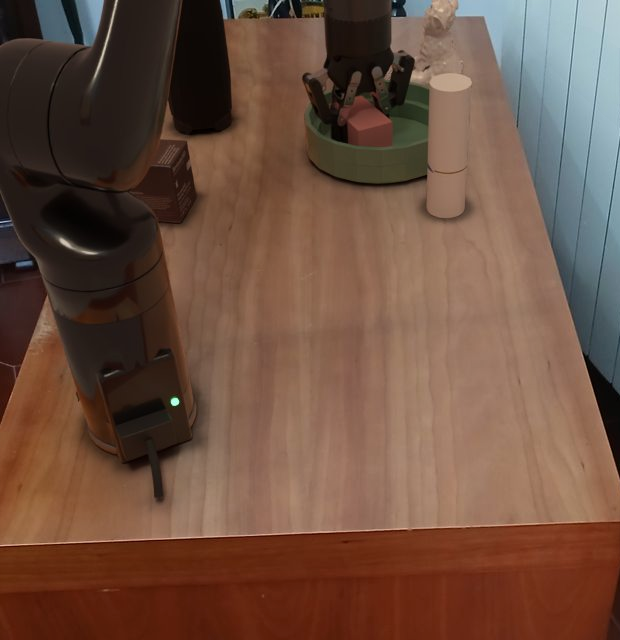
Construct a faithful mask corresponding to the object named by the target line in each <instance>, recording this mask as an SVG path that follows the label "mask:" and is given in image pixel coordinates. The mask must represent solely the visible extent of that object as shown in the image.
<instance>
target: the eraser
mask: <svg viewBox="0 0 620 640" xmlns="http://www.w3.org/2000/svg"><path fill="white" fill-rule="evenodd" d="M330 106H331V103H330V104H329V109H330ZM346 124H347V127H348V144H351V145H355V146H366V147H389V146H392V121H391V120H390V119H389V118H387V117H386V116H385V115H384V114H383V113H382V112H380V111H379V110H378V109H377V108H376V107H375V106H373V105H372V104H371V103H370V102H369V101H368V100H367V99H365V98H364V97H363V96H358V97H355V99H354V103H353V106H352V108H350V109H349V113H348V117H347V121H346ZM330 132H331V123H330ZM331 134H332V133H331ZM331 139H332V136H331Z"/></svg>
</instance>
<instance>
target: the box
mask: <svg viewBox="0 0 620 640" xmlns="http://www.w3.org/2000/svg"><path fill="white" fill-rule="evenodd" d="M188 145H189V143H188V140H185V139H183V140H182V139H166V138H165V139H162V138H161V139H160V142H159V146H158V149H157V152H156V155H155V157H154V160H153V162H152V164H151V166H150V168H149V170H148V172H147V174H146V175H145V177H144V178H143V179H142V181H141V182H140V183H139V184H138V185H137V186H136V187H134V188H133V189H131V190H130V191H128V192H130V193H131V194H133V195H135V196H136V197H138V198H139V199H141V200H142V201H144V202H145V203H146V204H147V205H148V206H149V207H150V208H151V209H152V211H153V212H154V214H155V216H156V218H157V220H158V222H166V223H177V224H178V223H181V222H183V220H184V219H185V217H186V216H187V214H188V212H189V210H190V209H191V207H192V205H193V203H194V202H195V200H196V198H197V190H196V186H195V178H194V173H193V167H192V161H191V156H190V151H189V147H188Z"/></svg>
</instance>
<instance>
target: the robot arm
mask: <svg viewBox="0 0 620 640" xmlns="http://www.w3.org/2000/svg"><path fill="white" fill-rule="evenodd" d="M321 3H322V7H323V21H324V22H323V23H324V24H323V25H324V44H325V45H324V46H325V51H326V58H325V61H324V63H323V67H322V68H321V69H319V70H317V71H316V72H314V73H311V72H304V73H303V74H302V77H301V81H302V83H303V86H304V88H305V91H306V94H307V97H308V99H309V103H310V102H311V104H312V107H313V110H314V112H315V115H316V116H317V117H318V118H319V119H320V120H321V121H322V122H323V123H324V124H326V125H328V124H330V123H331V133H332V134H331V136H332V139H333V140H335V141H338V142H342V143H346V144H348V127H347V124H346V121H347V117H348V113H349V109H350V108H352V106H353V103H354V99H355V96H358V95H360V94H362V93H370V95H371V97H372V100H373V103H374V105H375V107H376V108H377V109H378V110H379V111H380V112H382V113H383V114H384V115H385V116H386V117H387V118H389V113H390V112H391V110H392V108H393V107H395V106H396V105H397V106H401V105H403V104H404V102H405V98H406V94H407V90H408V86H409V83H410V79H411V75H412V71H413V70H414V64H415V59H414V57H413V56H412V55H411V54H410V53H408V52H407V51H406V50H403V49H400V50H398V51H397V52H395V51H394V52H393V51H392V48H391V45H392V41H393V40H392V37H393V36H392V30H393V29H392V28H393V27H392V26H393V25H392V24H393V23H392V0H321ZM181 7H182V0H103V3H102V9H101V13H100V19H99V23H98V28H97V31H96V34H95V38H94V39H93V42H92V44H91V45H85V44H78V43H71V42H63V41H55V40H48V39H40V38H27V37H26V38H15V39H11V40H9V41H6V42H4V43H3V44H1V45H0V195H1V198H2V201H3V203H4V206H5V208H6V211H7V213H8V216H9V218H10V222H11V224H12V227H13V229H14V232H15V233H16V236H17V237H18V239H19V241H20V242H21V244H22V246H23V247H24V248H25V249H26V250H27V251H28V252H29V254H31V256H33V258H35V261H36V263H37V266H38V270H39V273H40V277H41V279H42V282H43V285H44V289H45V293H46V296H47V298H48V302H49V307H50V309H51V312H52V315H53V319H54V322H55V325H56V328H57V331H58V335H59V338H60V341H61V344H62V347H63V350H64V354H65V357H66V361H67V364H68V367H69V370H70V373H71V376H72V379H73V384H74V386H75V389H76V391H75V395H76V399H77V402H78V403H79V402H80V404H81V408H82V411H83V414H84V418H85V425H86V428H87V432H88V435H89V437H90V438H91V440H92V441H93V442H94V444H95V445H97V446H98V447H99V448H100V449H102V450H104V451H105V452H107V453H110V454H114V455H116V456H117V457H118V458H119V460H120V462H121V463H124V464H125V463H128V462H130V461H134V460H136V459H140V458H143V457H145V456H147V457H148V461H149V466H150V470H151V471H150V472H151V477H152V486H153V496H154V497H153V498H154V499H162V498H163V497H164V489H163V485H164V484H163V476H162V470H161V466H160V460H159V456H158V452H160V451H162V450H165V449H168V448H170V447H173V446H176V445H178V444H182V443H184V442H187V441H189V440H192V438H193V434H192V429H191V428H192V426H193V425H194V423H195V421H196V417H197V404H196V398H195V395H194V392H193V389H192V385H191V379H190V374H189V370H188V365H187V360H186V355H185V350H184V345H183V339H182V336H181V335H182V334H181V331H180V325H179V324H180V323H179V320H178V319H179V318H178V315H177V310H176V309H177V308H176V305H175V299H174V295H173V290H172V289H173V288H172V284H171V280H170V272H169V268H168V263H167V258H166V253H165V248H164V242H163V237H162V232H161V228H160V224H159V221H158V220H157V218H156V216H155V214H154V212H153V211H152V209H151V208H150V207H149V206H148V205H147V204H146V203H145V202H144V201H142V200H141V199H139V198H138V197H136V196H135V195H133V194H131V193H130V192H128V191H130V190H131V189H133V188H134V187H136V186H137V185H138V184H139V183H140V182H141V181H142V179H143V178H144V177H145V175H146V174H147V172H148V170H149V168H150V166H151V164H152V162H153V160H154V157H155V155H156V152H157V149H158V146H159V142H160V139H162V135H163V129H164V124H165V119H166V114H167V108H168V96H169V89H170V82H171V75H172V68H173V61H174V54H175V47H176V40H177V34H178V27H179V20H180V13H181ZM390 68H391V69H392V70H391V74H390V78H389V80H390V82H389V86H388V90H387V88H386V85H385V82H384V80H385V79H384V78H385V77H386V75H387V74H388V72H389V70H390ZM328 79H329V80H330V81H331V82H332V83H333V86H332V88H333V89H332V88H331V89H332V93H331V98H332V102H331V106H330V109H329V106H328V104H327V101H326V98H325V95H324V92H326V91H327V81H328Z"/></svg>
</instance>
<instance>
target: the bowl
mask: <svg viewBox="0 0 620 640" xmlns="http://www.w3.org/2000/svg"><path fill="white" fill-rule="evenodd" d="M384 82H385V85H386V88H387V90H388V86H389V82H390V79H384ZM332 89H333V87H332V88H330V89H328V90H325V91H323V93H324V95H325V98H326V101H327V104H328V106H329V104H330V103H331V102H332V98H331V93H332ZM429 90H430V87H428V86H425V85H423V84H419V83H413V82H410V83H409V86H408V90H407V94H406V98H405V102H404V104H403V105H401V106H397V105H396V106H395V107H393V108H392V110H391V112H390V113H389V119H390V120H391V121H392V146H389V147H366V146H355V145H351V144H346V143H342V142H338V141H335V140H333V139H331V132H330V124H328V125H326V124H324V123H323V122H322V121H321V120H320V119H319V118H318V117H317V116H316V115H315V112H314V110H313V107H312V104H311V102H310V101H309V103H308V105H307V107H306V109H305V111H304V114H303V118H304V132H305V133H304V134H305V146H306V152H307V155H308V159H309V160H311V162H312V163H313V164H314V165H315V166H316V167H317V168H318V169H319V170H321V171H323V172H325V173H327V174H329V175H331V176H333V177H335V178H339V179H343V180H348V181H352V182H356V183H363V184H376V185H377V184H378V185H379V184H393V183H400V182H406V181H409V180H414V179H416V178H420V177H423V176H426V175H427V169H428V127H429ZM358 96H363V97H364V98H365V99H367V100H368V101H369V102H370V103H371V104H372V105H373V106H375V105H374V103H373V100H372V97H371V95H370V93H362V94H360V95H358ZM358 96H355V97H358Z"/></svg>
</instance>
